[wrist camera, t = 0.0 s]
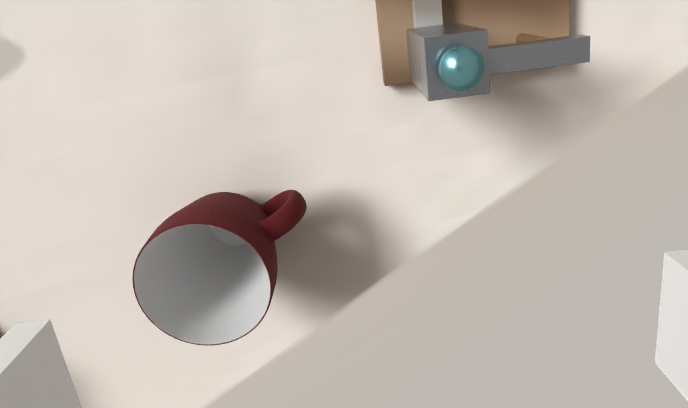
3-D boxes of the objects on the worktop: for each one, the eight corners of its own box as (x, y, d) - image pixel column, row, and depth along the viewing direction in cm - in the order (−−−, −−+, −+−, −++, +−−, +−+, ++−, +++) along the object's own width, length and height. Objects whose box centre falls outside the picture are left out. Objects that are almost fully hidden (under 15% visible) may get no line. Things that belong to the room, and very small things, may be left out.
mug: (262, 124, 39) (235, 164, 29) (336, 207, 41) (334, 269, 32) (156, 214, 41) (102, 278, 32) (232, 288, 43) (202, 369, 34)
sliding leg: (406, 29, 34) (427, 39, 25) (535, 12, 33) (601, 16, 25) (410, 79, 35) (432, 105, 26) (535, 62, 34) (599, 84, 26)
